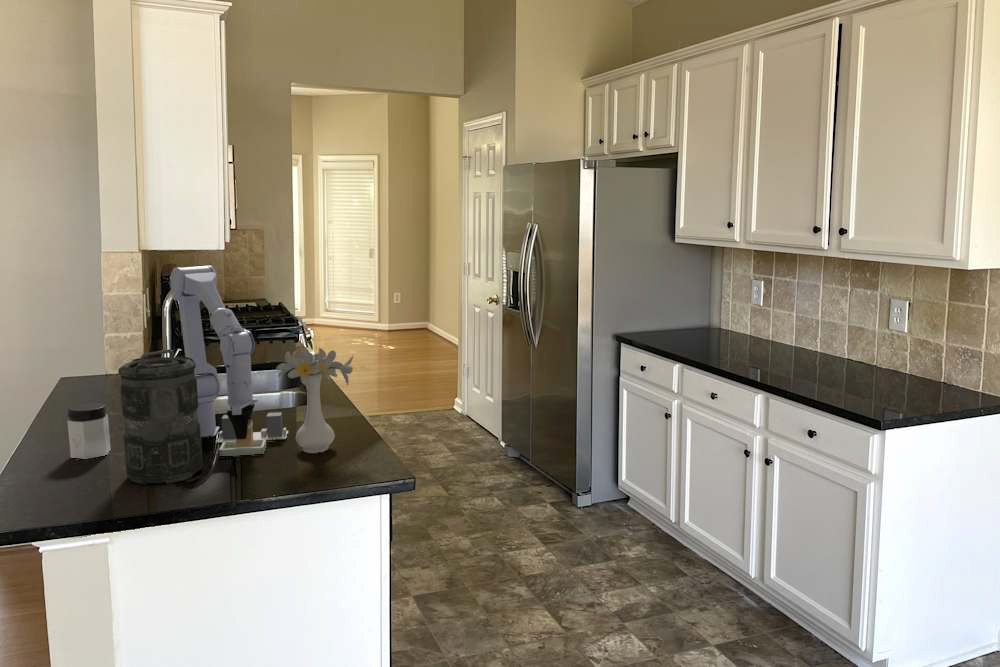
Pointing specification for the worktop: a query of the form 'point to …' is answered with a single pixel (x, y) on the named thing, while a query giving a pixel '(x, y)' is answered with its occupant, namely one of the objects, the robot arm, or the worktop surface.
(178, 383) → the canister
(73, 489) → the worktop surface
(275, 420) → the panel
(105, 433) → the jar
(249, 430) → the block
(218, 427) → the robot arm
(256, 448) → the tray
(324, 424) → the flower vase
